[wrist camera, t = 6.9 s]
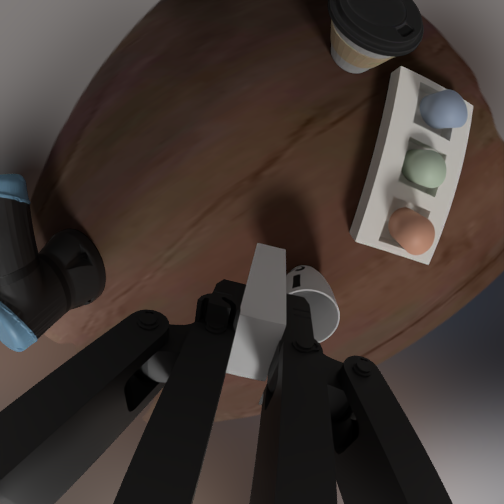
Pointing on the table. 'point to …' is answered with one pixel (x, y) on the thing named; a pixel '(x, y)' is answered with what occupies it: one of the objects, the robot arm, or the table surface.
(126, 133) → the table surface
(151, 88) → the table surface
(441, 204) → the button board
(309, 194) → the table surface
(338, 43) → the coffee cup
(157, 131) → the table surface
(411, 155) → the sage cap
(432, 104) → the slate cap
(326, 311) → the cup
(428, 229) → the terracotta cap
